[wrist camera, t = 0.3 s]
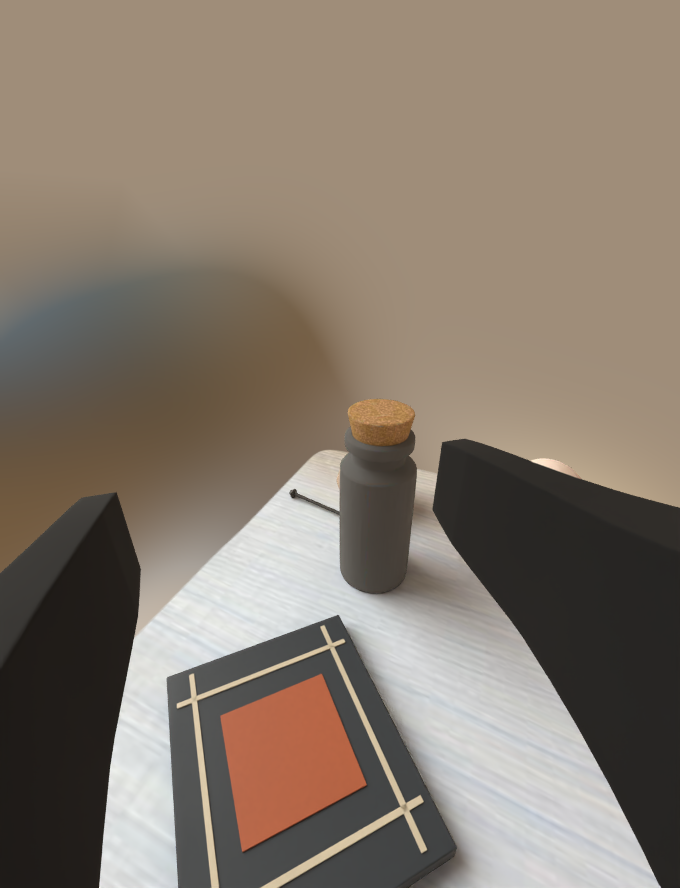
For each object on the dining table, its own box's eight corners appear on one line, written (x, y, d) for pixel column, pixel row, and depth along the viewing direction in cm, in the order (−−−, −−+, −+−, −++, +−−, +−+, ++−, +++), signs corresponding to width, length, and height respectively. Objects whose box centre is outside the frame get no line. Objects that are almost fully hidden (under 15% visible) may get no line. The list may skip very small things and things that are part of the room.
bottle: (403, 545, 38) (417, 396, 31) (409, 595, 33) (429, 429, 26) (341, 543, 38) (341, 394, 31) (337, 592, 33) (337, 427, 26)
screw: (292, 495, 45) (287, 496, 45) (294, 487, 45) (289, 488, 44) (352, 522, 42) (348, 523, 41) (355, 513, 41) (350, 514, 41)
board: (454, 856, 19) (457, 847, 19) (190, 1032, 15) (185, 1026, 14) (338, 623, 31) (338, 613, 30) (169, 686, 26) (166, 676, 26)
